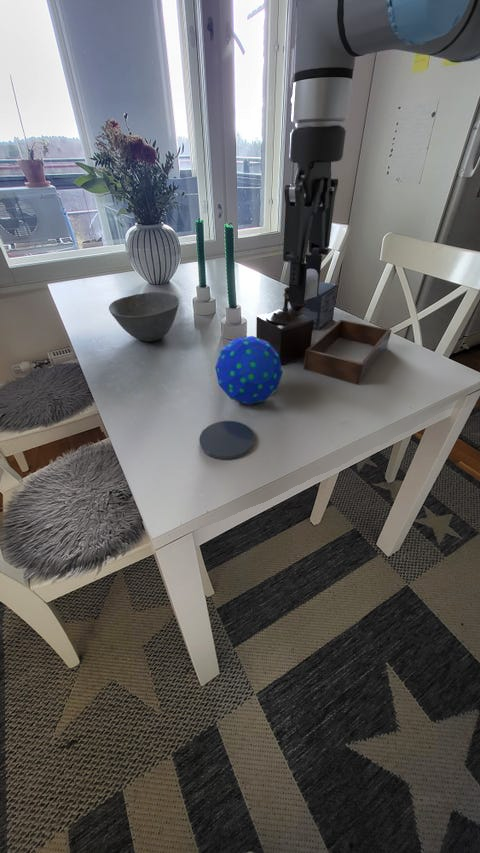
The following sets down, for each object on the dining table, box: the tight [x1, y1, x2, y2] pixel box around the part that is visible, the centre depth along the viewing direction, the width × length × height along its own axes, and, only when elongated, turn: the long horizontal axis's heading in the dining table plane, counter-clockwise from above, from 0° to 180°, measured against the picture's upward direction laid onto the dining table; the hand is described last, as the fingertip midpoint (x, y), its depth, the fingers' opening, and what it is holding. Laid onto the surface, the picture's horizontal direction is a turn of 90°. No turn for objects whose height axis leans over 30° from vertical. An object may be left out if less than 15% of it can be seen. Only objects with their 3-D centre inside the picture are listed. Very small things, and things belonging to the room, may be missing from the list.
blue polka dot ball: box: [215, 335, 283, 405], centre depth 72 cm, size 14×14×15 cm
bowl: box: [108, 291, 180, 342], centre depth 96 cm, size 19×19×10 cm
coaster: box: [198, 420, 255, 461], centre depth 63 cm, size 10×10×1 cm
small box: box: [302, 281, 338, 331], centre depth 102 cm, size 11×6×10 cm, turn 144°
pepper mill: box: [255, 286, 314, 365], centre depth 83 cm, size 16×11×18 cm
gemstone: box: [304, 269, 318, 300], centre depth 61 cm, size 6×6×5 cm
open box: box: [303, 319, 392, 386], centre depth 85 cm, size 14×22×5 cm, turn 146°
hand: (303, 297), depth 62 cm, fingers closed on gemstone, 5 cm apart
